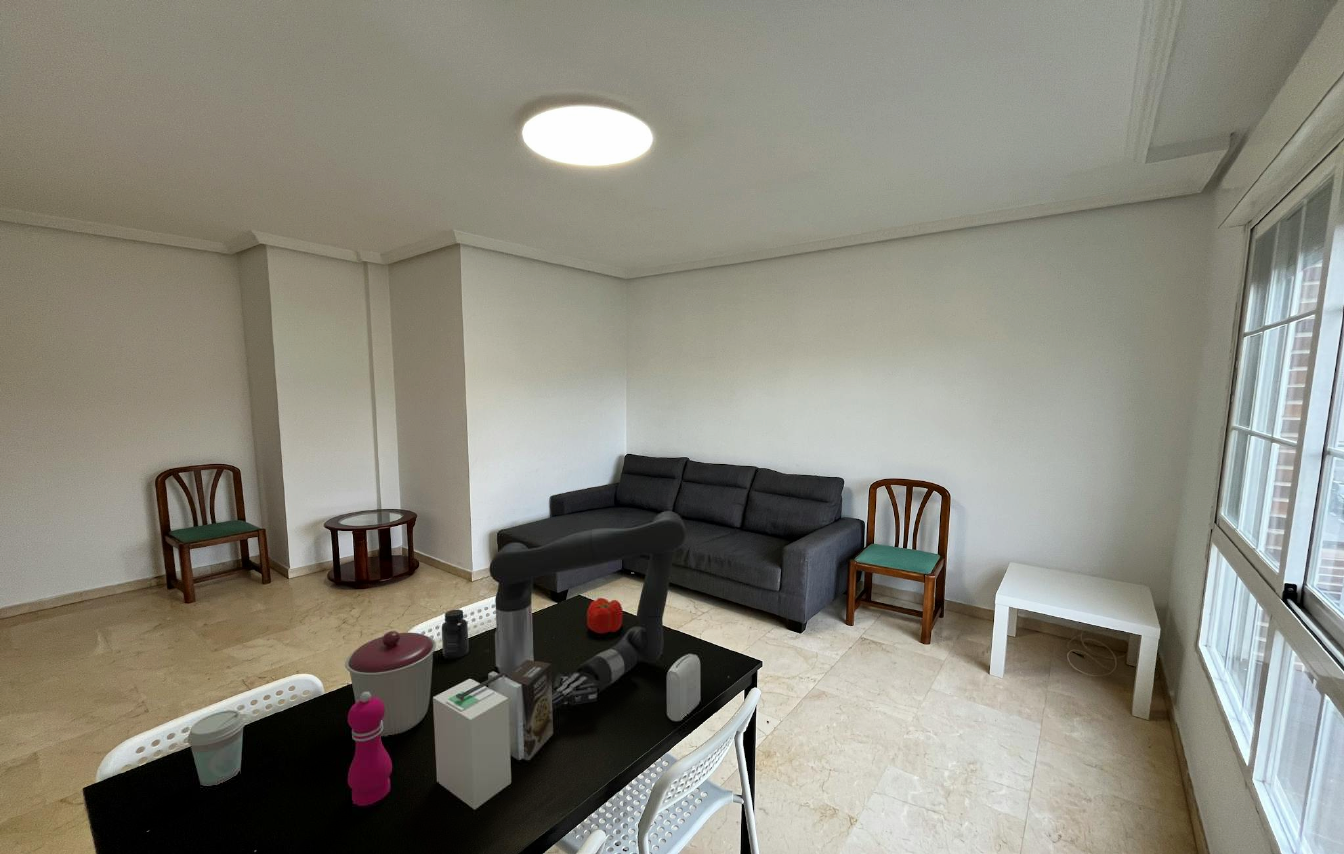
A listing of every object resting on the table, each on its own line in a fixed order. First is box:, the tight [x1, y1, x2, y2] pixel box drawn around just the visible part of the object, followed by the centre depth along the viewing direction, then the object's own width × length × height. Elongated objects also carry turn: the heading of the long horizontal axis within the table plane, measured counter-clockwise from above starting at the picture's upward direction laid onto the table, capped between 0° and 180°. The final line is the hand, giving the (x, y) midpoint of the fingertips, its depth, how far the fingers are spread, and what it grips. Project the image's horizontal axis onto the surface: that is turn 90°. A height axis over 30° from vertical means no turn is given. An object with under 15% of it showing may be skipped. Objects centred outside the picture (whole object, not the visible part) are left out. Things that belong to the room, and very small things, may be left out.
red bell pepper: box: [586, 597, 624, 634], centre depth 168 cm, size 11×12×9 cm
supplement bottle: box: [441, 608, 470, 660], centre depth 154 cm, size 7×7×12 cm
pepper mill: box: [347, 692, 393, 807], centre depth 101 cm, size 7×7×20 cm
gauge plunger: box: [456, 671, 524, 761], centre depth 107 cm, size 9×11×16 cm
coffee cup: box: [187, 709, 246, 786], centre depth 106 cm, size 8×8×12 cm
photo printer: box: [666, 653, 701, 722], centre depth 127 cm, size 10×4×12 cm, turn 147°
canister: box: [344, 630, 437, 737], centre depth 123 cm, size 18×18×21 cm
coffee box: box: [505, 660, 554, 761], centre depth 115 cm, size 9×6×16 cm
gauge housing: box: [432, 678, 512, 810], centre depth 104 cm, size 12×8×17 cm, turn 54°
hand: (547, 705), depth 119 cm, fingers closed
